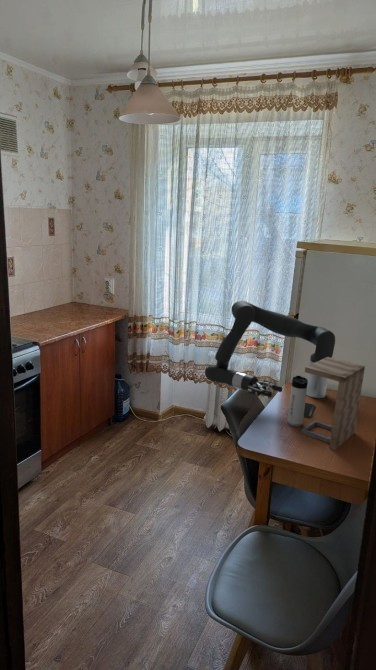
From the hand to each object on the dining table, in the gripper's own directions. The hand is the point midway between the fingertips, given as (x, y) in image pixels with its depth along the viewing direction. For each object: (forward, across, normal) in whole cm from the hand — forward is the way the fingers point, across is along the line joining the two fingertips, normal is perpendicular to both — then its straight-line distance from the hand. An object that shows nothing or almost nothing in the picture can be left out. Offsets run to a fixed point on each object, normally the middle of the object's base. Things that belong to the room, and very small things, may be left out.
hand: (276, 392), depth 195 cm
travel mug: (+10, 0, +11) cm, 15 cm away
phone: (+6, +16, +12) cm, 20 cm away
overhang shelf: (+24, 0, +11) cm, 26 cm away
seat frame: (+22, 0, +11) cm, 24 cm away
